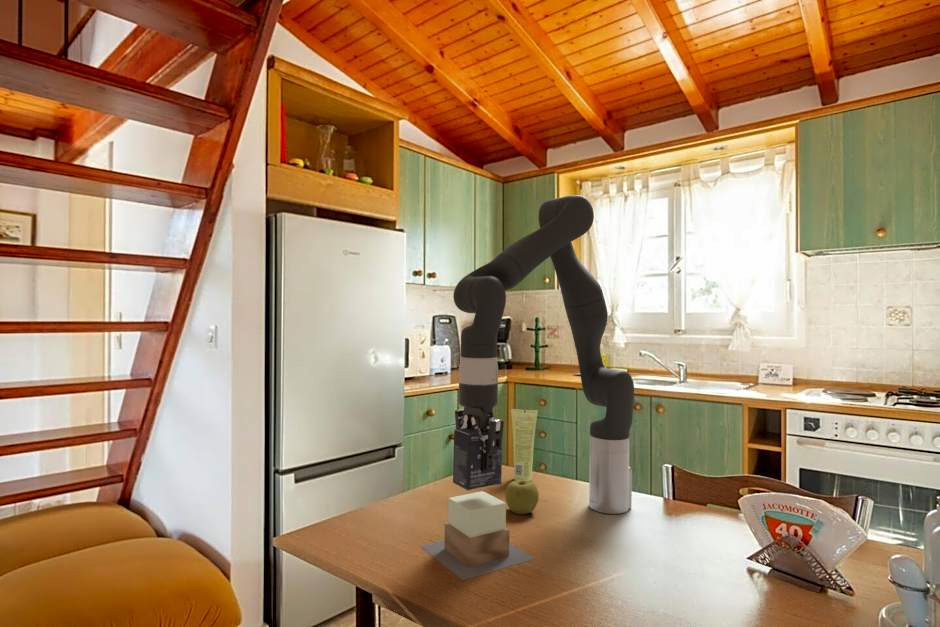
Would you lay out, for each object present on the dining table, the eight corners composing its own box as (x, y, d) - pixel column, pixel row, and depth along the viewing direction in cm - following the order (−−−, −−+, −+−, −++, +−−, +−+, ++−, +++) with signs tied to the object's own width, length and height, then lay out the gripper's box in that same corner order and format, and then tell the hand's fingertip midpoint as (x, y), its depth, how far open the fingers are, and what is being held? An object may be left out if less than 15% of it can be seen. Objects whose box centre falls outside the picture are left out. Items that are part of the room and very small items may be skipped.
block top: (482, 515, 111) (482, 491, 111) (505, 529, 104) (506, 502, 104) (448, 523, 107) (448, 497, 107) (470, 538, 100) (470, 510, 100)
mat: (487, 531, 117) (487, 529, 117) (535, 560, 103) (535, 558, 103) (420, 548, 108) (420, 546, 108) (462, 582, 95) (462, 580, 95)
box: (468, 491, 101) (468, 434, 101) (452, 483, 106) (452, 428, 106) (502, 484, 105) (503, 429, 105) (485, 477, 110) (486, 424, 110)
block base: (482, 539, 112) (483, 514, 112) (509, 555, 104) (509, 529, 104) (444, 548, 107) (444, 523, 107) (469, 567, 99) (469, 539, 99)
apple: (498, 513, 127) (498, 482, 127) (518, 504, 133) (518, 475, 133) (525, 522, 122) (525, 489, 122) (545, 512, 128) (545, 481, 128)
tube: (525, 475, 157) (526, 407, 157) (537, 480, 153) (538, 409, 153) (509, 478, 154) (510, 409, 154) (521, 483, 150) (522, 411, 150)
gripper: (516, 383, 101) (515, 474, 102) (474, 375, 114) (473, 457, 114) (482, 386, 97) (481, 481, 98) (443, 377, 110) (442, 462, 110)
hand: (477, 467), depth 106 cm, fingers closed on box, 5 cm apart
